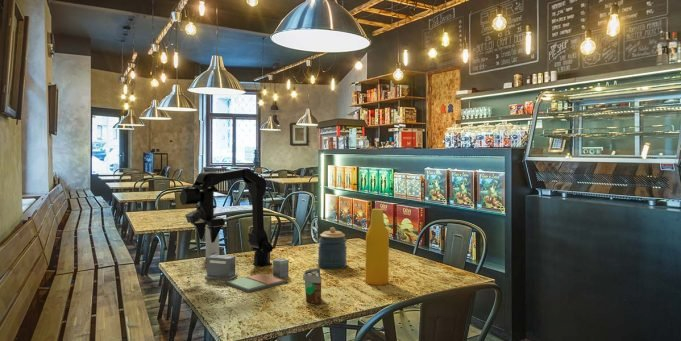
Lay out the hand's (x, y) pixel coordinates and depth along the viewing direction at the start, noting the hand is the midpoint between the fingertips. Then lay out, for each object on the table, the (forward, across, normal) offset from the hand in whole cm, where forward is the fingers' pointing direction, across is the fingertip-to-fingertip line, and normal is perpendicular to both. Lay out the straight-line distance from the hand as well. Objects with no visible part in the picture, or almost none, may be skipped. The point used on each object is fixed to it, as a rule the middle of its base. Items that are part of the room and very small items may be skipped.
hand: (206, 241), depth 191 cm
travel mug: (+15, -26, +18) cm, 35 cm away
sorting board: (+14, +23, +8) cm, 28 cm away
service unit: (+14, +6, +3) cm, 16 cm away
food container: (+15, +54, +8) cm, 57 cm away
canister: (+15, +24, +49) cm, 57 cm away
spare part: (+15, +22, +21) cm, 34 cm away
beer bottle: (+15, +55, +42) cm, 71 cm away
